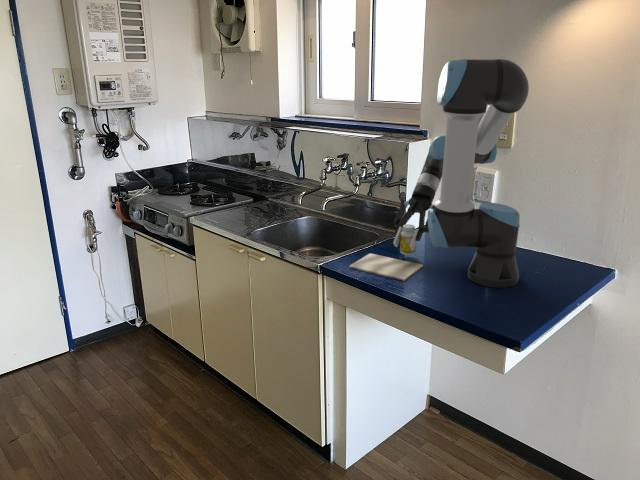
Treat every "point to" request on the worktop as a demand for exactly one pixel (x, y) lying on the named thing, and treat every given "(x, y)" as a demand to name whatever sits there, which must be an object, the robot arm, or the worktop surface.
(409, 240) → the supplement bottle
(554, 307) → the worktop surface
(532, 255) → the worktop surface
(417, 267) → the birch board
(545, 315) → the worktop surface
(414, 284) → the worktop surface
